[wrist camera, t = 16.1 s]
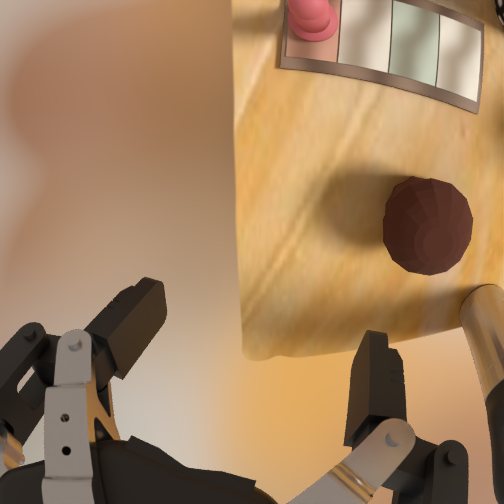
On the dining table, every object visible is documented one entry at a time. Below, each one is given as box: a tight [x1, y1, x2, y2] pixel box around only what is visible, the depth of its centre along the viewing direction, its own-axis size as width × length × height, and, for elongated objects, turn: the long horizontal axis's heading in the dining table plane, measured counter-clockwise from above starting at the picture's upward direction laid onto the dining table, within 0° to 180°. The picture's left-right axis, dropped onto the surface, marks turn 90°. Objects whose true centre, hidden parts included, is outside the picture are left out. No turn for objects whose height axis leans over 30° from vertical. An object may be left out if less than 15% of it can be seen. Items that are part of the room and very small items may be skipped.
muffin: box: [383, 176, 473, 276], centre depth 30 cm, size 12×11×10 cm
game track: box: [280, 0, 484, 114], centre depth 24 cm, size 25×13×1 cm, turn 86°
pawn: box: [288, 0, 338, 42], centre depth 22 cm, size 6×6×9 cm
